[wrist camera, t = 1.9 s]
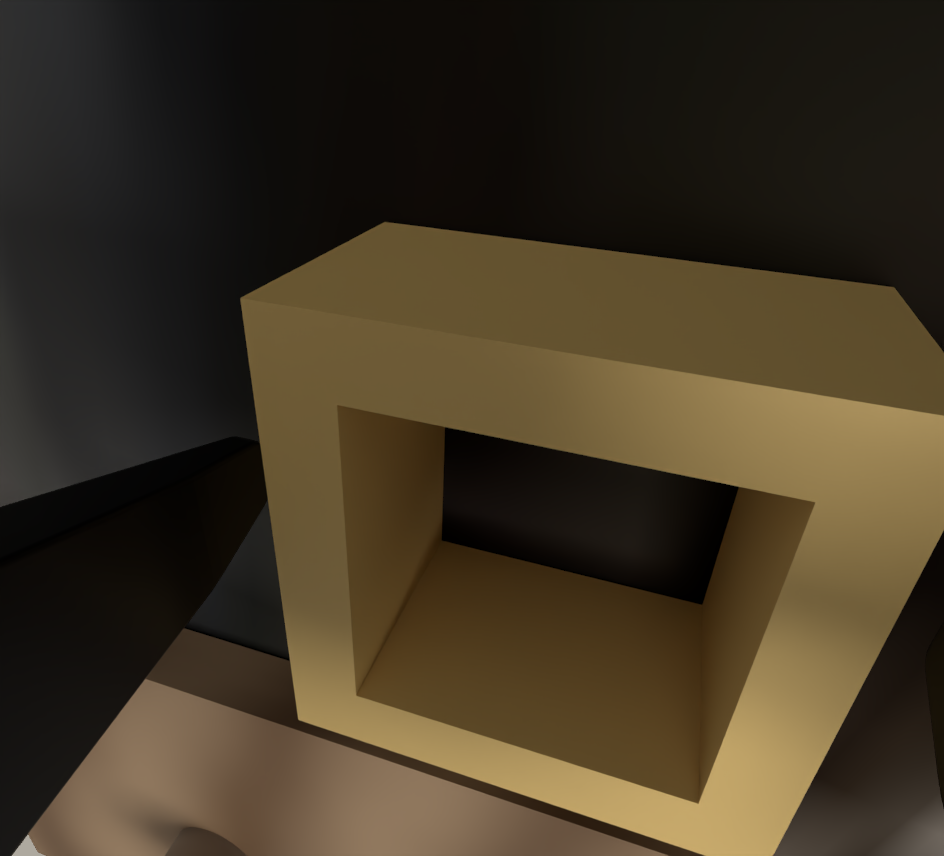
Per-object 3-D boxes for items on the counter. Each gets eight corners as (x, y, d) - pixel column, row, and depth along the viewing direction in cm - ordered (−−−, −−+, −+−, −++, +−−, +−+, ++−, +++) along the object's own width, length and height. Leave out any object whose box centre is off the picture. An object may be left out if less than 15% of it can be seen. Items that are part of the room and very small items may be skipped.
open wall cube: (894, 287, 8) (999, 425, 5) (749, 662, 11) (762, 874, 8) (384, 222, 9) (239, 298, 7) (392, 568, 13) (298, 719, 10)
